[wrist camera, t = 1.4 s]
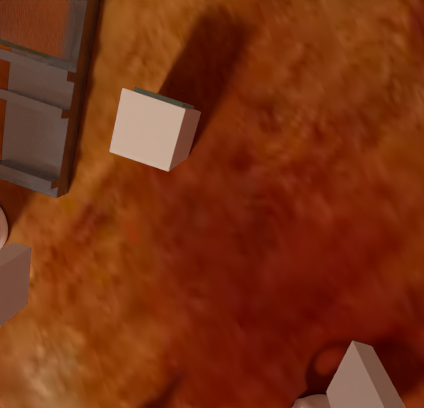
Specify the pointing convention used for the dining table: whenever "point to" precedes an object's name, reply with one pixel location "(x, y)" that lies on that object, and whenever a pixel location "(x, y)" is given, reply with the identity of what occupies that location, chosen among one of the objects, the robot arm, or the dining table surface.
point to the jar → (3, 228)
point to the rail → (44, 88)
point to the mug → (312, 402)
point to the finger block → (154, 128)
